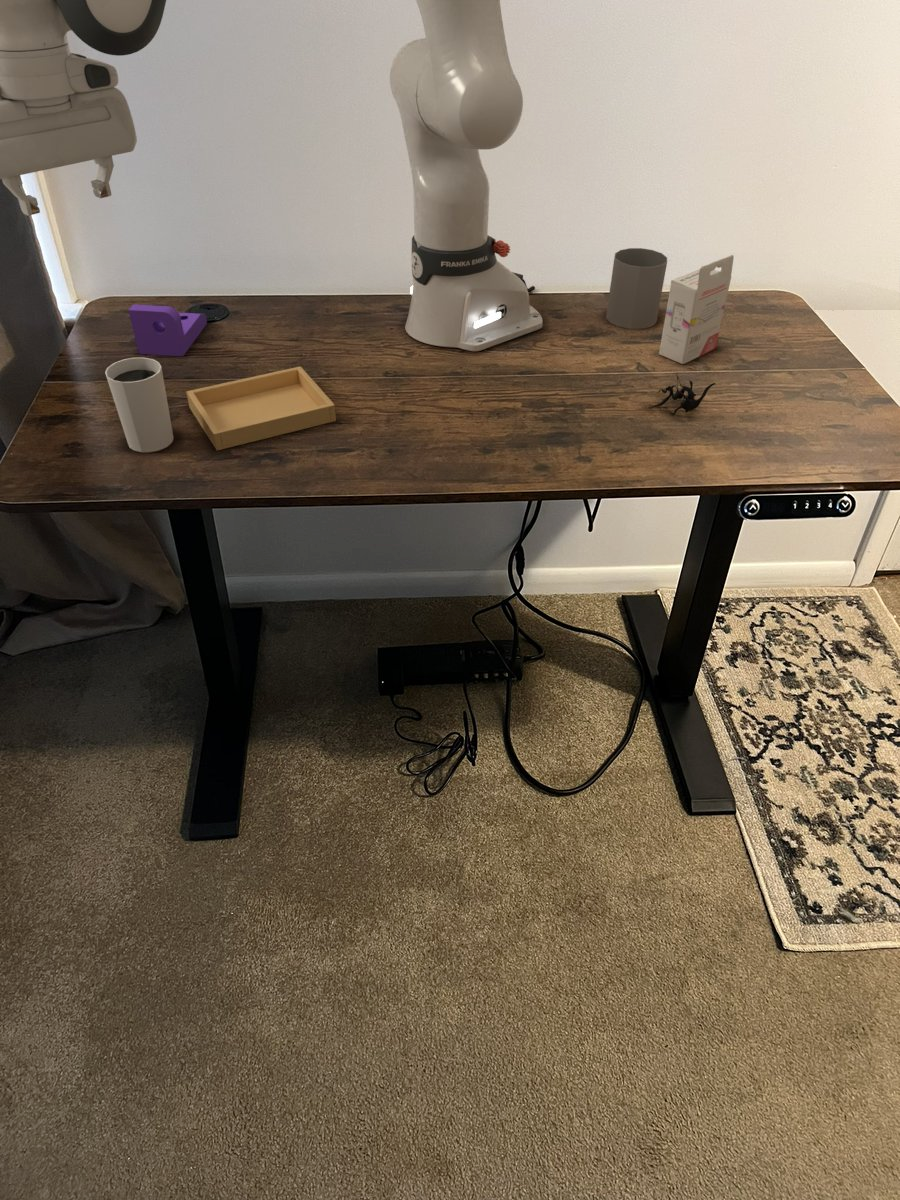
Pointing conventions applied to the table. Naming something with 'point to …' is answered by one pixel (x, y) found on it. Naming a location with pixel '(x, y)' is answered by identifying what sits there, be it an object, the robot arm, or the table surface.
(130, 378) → the white tumbler
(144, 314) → the bracket
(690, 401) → the creature
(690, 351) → the ink cartridge box
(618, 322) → the cup
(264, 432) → the tray
